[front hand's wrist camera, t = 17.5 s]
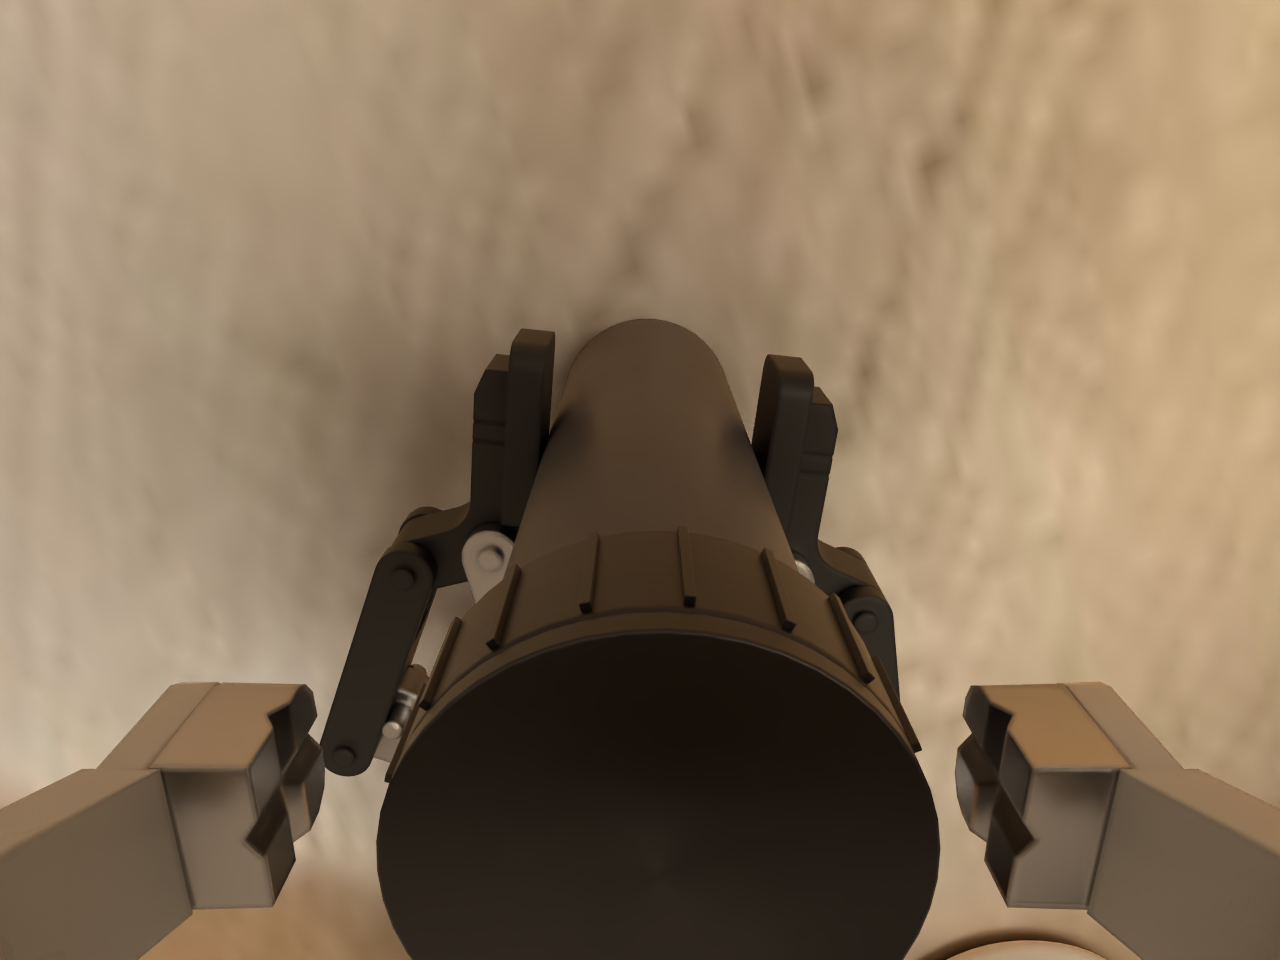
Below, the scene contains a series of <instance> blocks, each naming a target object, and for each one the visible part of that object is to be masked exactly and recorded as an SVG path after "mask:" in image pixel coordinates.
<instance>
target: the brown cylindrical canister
mask: <svg viewBox="0 0 1280 960" xmlns="http://www.w3.org/2000/svg"><path fill="white" fill-rule="evenodd" d="M678 526H683V527H688V532H692V533H697V534H702V535H707V536H712V537H717V538H722V539H726V540H729V541H732V542H735V543H738V544H741V545H745V546H747V547H750V548H753V549H756V550H758V551H760V552H762V550H763V549H764V547H765V548H767V549H770V550H772V551H773V553H774V556H775V559H777V560H779V561H781V562H783V563H785V564H786V565H788V566H789V567H791V568H792V569H794V570H795V571H797V572H799V571H798V568H797V565H796V563H795V560H794V557H793V555H792V552H791V549H790V547H789V544H788V541H787V539H786V536H785V534H784V531H783V528H782V526H781V523H780V520H779V518H778V515H777V512H776V510H775V507H774V504H773V502H772V499H771V496H770V494H769V491H768V488H767V486H766V483H765V480H764V478H763V475H762V472H761V470H760V467H759V464H758V462H757V459H756V456H755V454H754V451H753V448H752V446H751V443H750V440H749V438H748V435H747V432H746V430H745V427H744V424H743V422H742V419H741V416H740V414H739V411H738V409H737V406H736V403H735V401H734V398H733V395H732V393H731V390H730V387H729V385H728V382H727V379H726V377H725V374H724V371H723V369H722V366H721V364H720V362H719V360H718V359H717V357H716V355H715V354H714V353H713V351H712V350H711V349H710V347H709V346H708V345H707V344H706V343H705V342H704V341H703V340H702V339H700V338H699V337H698V336H697V335H695V334H694V333H692V332H691V331H689V330H687V329H686V328H684V327H681V326H679V325H677V324H674V323H671V322H667V321H663V320H656V319H638V320H631V321H627V322H623V323H620V324H617V325H615V326H612V327H610V328H608V329H606V330H605V331H603V332H601V333H600V334H598V335H597V336H596V337H594V338H593V339H592V340H591V341H590V342H589V343H588V344H587V345H586V346H585V347H584V348H583V349H582V351H581V352H580V353H579V355H578V356H577V358H576V360H575V361H574V363H573V365H572V368H571V370H570V372H569V375H568V378H567V381H566V384H565V388H564V391H563V394H562V397H561V400H560V403H559V406H558V409H557V412H556V416H555V419H554V422H553V425H552V428H551V431H550V434H549V437H548V440H547V443H546V447H545V450H544V453H543V456H542V459H541V462H540V465H539V468H538V471H537V475H536V478H535V481H534V484H533V487H532V490H531V493H530V496H529V499H528V502H527V506H526V509H525V512H524V515H523V518H522V521H521V524H520V527H519V530H518V534H517V537H516V540H515V543H514V546H513V549H512V552H511V555H510V558H509V561H508V565H507V568H506V571H505V574H504V577H503V579H504V578H506V576H507V573H508V570H509V568H510V567H511V566H513V565H514V564H516V563H517V564H518V566H519V567H520V568H521V567H523V566H524V565H526V564H528V563H529V562H531V561H533V560H534V559H536V558H539V557H541V556H543V555H545V554H548V553H550V552H552V551H555V550H557V549H559V548H561V547H564V546H567V545H570V544H574V543H577V542H580V541H584V540H587V539H588V534H589V533H593V532H598V534H599V536H604V535H610V534H616V533H622V532H630V531H652V530H665V531H677V530H678Z"/></svg>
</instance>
